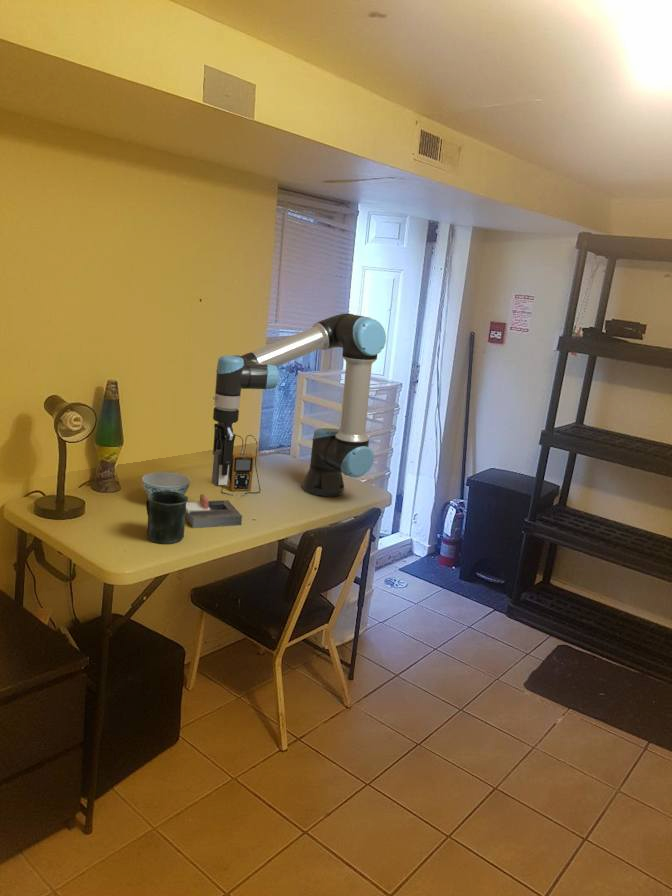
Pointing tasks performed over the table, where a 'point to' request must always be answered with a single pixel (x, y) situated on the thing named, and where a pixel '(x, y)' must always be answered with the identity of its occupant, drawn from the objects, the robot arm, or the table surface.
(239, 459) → the multimeter
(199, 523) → the socket plate
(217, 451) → the gray rectangular block
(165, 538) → the mug
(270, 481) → the table surface
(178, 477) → the chinaware
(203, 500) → the shutter
